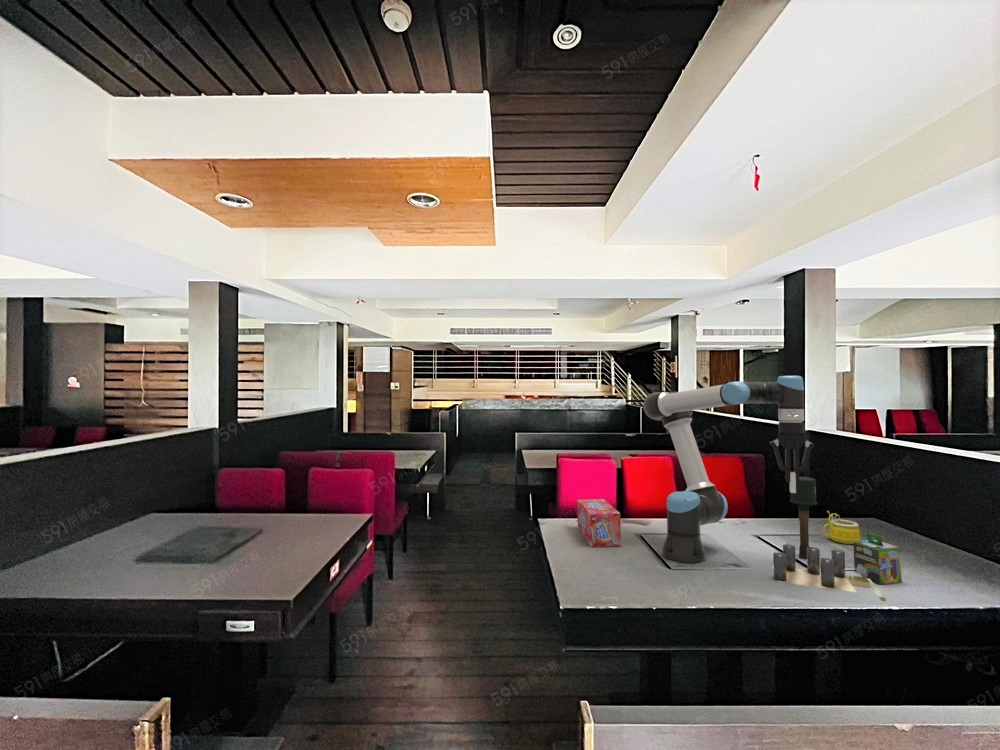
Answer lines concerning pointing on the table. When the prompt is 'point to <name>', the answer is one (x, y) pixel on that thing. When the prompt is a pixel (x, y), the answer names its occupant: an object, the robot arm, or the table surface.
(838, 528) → the mug
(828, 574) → the spacers
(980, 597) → the table surface
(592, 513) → the box
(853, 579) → the tan wooden tile
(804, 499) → the potato masher grenade
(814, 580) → the board
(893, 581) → the chalk box
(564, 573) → the table surface
